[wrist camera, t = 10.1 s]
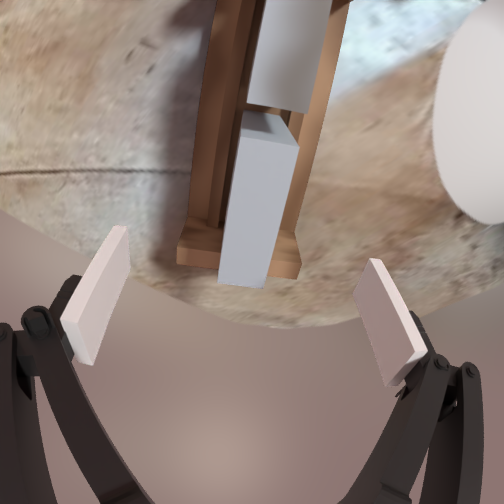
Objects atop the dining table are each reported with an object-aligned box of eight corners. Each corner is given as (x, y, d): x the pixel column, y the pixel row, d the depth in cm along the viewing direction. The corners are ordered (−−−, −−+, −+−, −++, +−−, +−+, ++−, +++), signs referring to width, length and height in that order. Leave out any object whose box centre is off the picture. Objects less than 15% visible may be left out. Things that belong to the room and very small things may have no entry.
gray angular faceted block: (226, 210, 33) (217, 282, 23) (243, 109, 27) (240, 136, 17) (258, 214, 33) (263, 288, 23) (279, 115, 27) (299, 147, 17)
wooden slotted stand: (189, 223, 36) (163, 307, 24) (227, -34, 19) (213, -96, 8) (288, 237, 37) (304, 323, 26) (346, -10, 20) (410, -48, 9)
